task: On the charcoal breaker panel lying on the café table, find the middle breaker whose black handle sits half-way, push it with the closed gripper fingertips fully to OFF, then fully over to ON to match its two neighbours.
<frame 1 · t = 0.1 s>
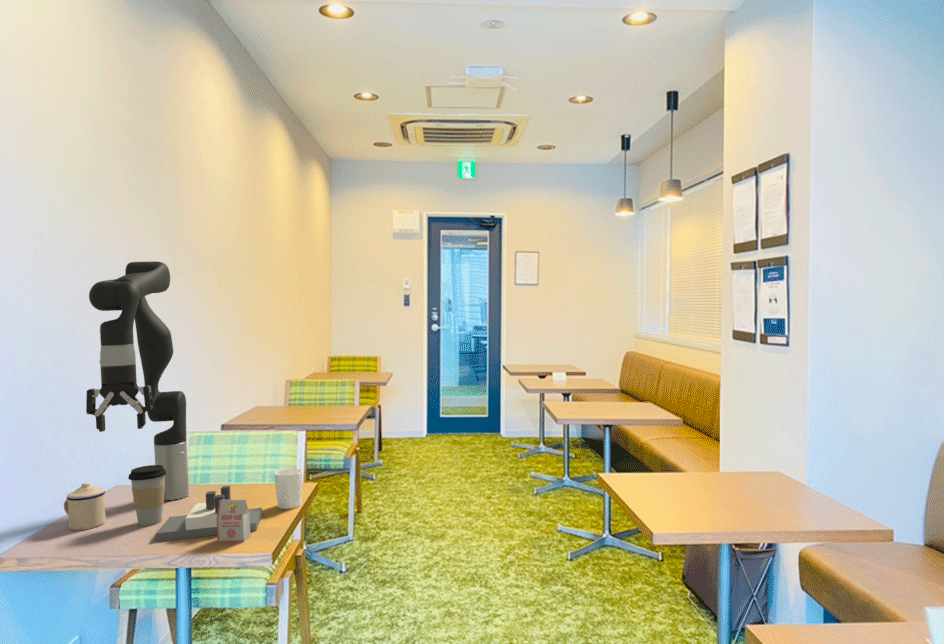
hand: (121, 429, 153), 29 cm above the table, fingers open, 8 cm apart
breaker panel: (212, 527, 167), on the table
teacup with lid: (83, 525, 173), on the table
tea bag: (234, 540, 157), on the table
tripped handle: (210, 500, 167), point 7 cm above the table, slide at 0.0 cm
white cup: (289, 506, 184), on the table
coffee cup: (149, 523, 173), on the table
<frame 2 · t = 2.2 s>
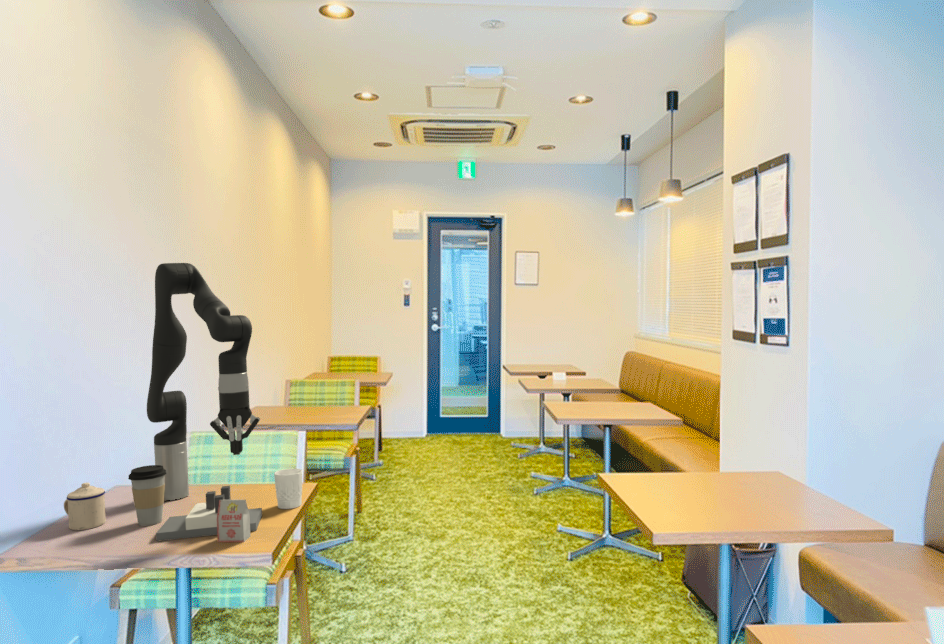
hand: (236, 454, 168), 19 cm above the table, fingers closed
nothing on the table moved.
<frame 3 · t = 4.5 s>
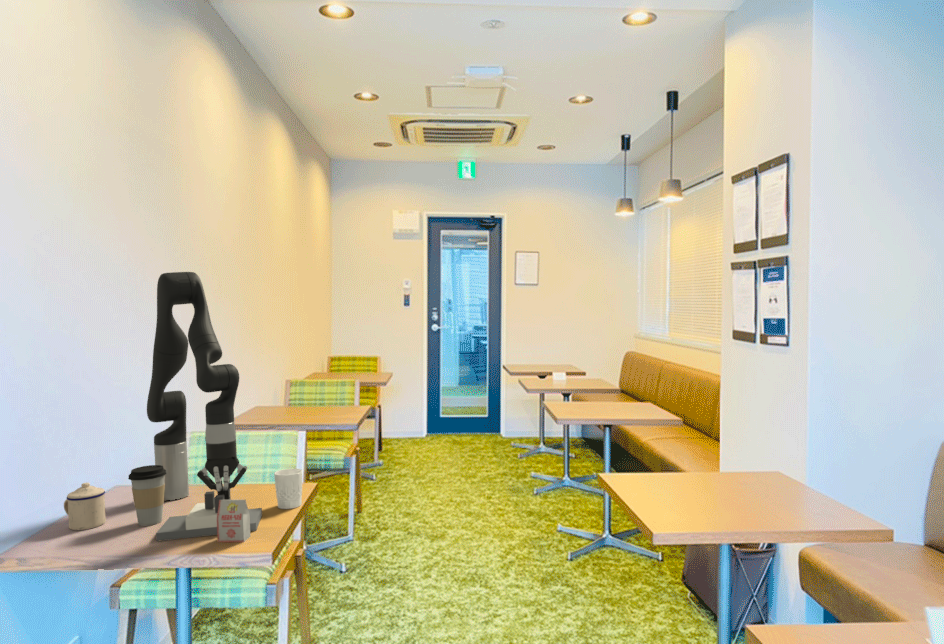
hand: (223, 503, 168), 6 cm above the table, fingers closed
tripped handle: (209, 500, 167), point 7 cm above the table, slide at -0.3 cm, touching gripper
everything else where it was.
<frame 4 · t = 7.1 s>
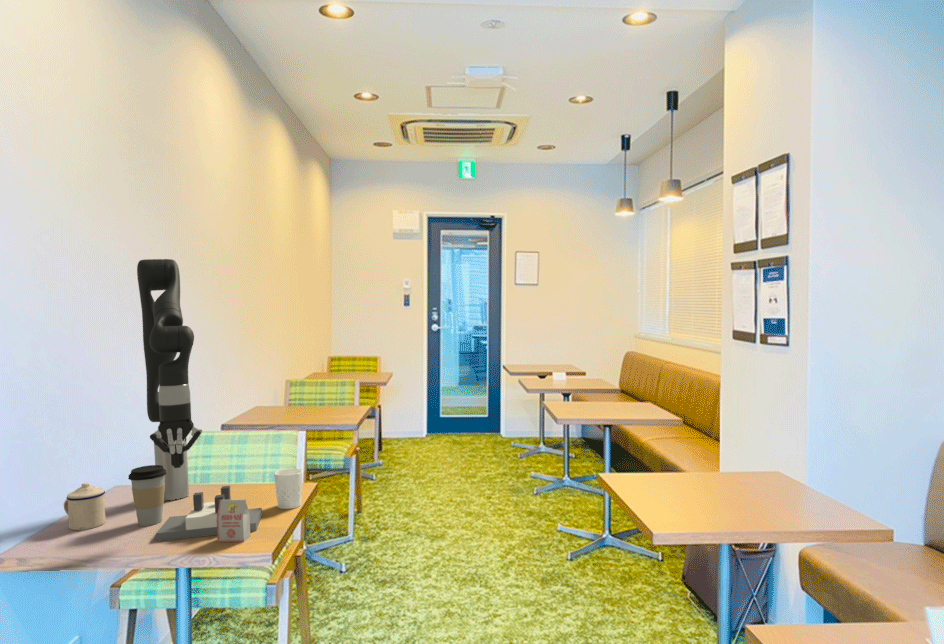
hand: (177, 467, 165), 17 cm above the table, fingers closed
tripped handle: (198, 501, 166), point 7 cm above the table, slide at -3.1 cm
everything else where it was.
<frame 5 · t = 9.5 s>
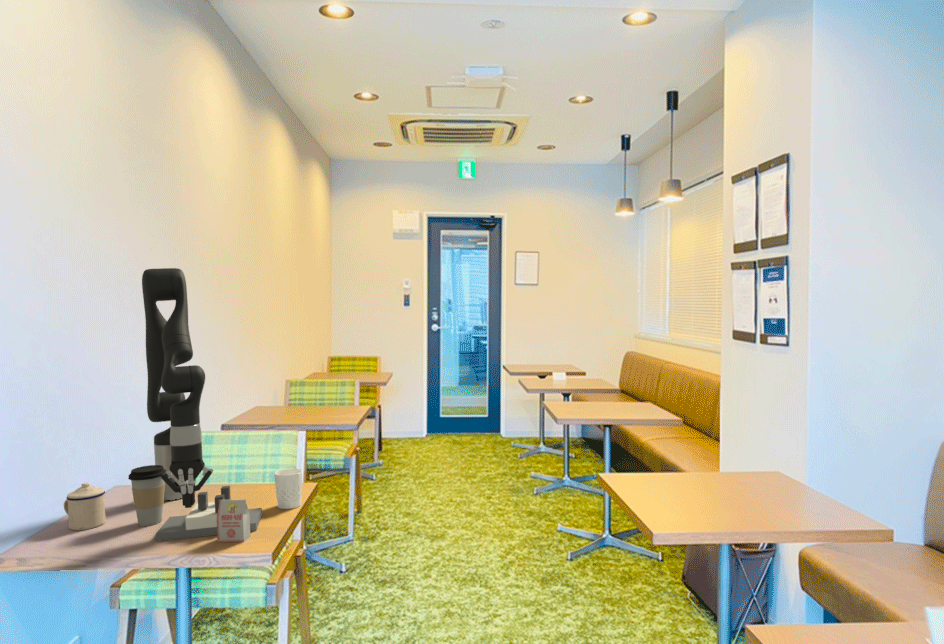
hand: (188, 506, 165), 6 cm above the table, fingers closed
tripped handle: (202, 500, 166), point 7 cm above the table, slide at -2.0 cm, touching gripper
everything else where it was.
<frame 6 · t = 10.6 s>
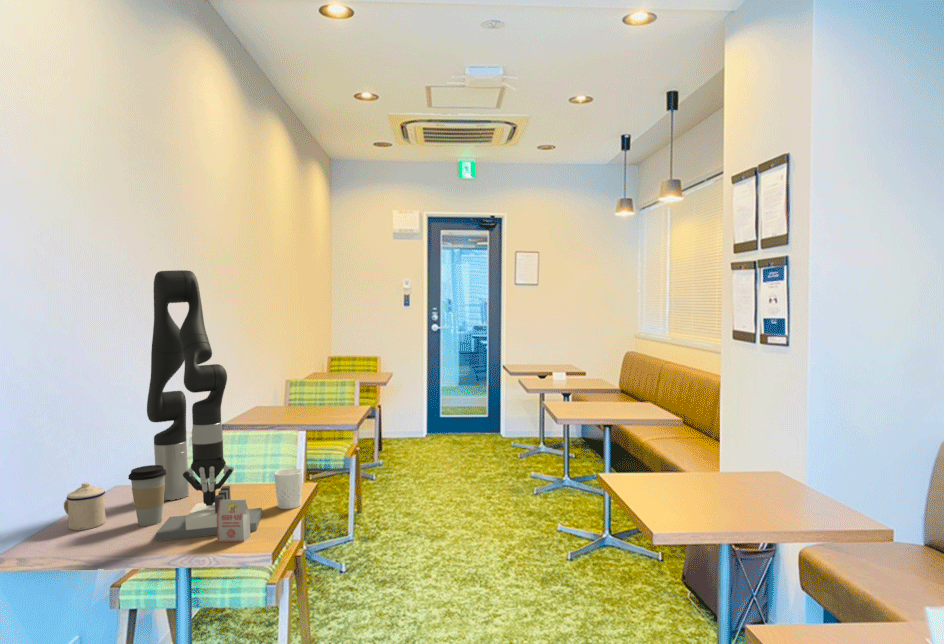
hand: (209, 504, 167), 6 cm above the table, fingers closed
tripped handle: (223, 498, 167), point 7 cm above the table, slide at 3.1 cm, touching gripper
everything else where it was.
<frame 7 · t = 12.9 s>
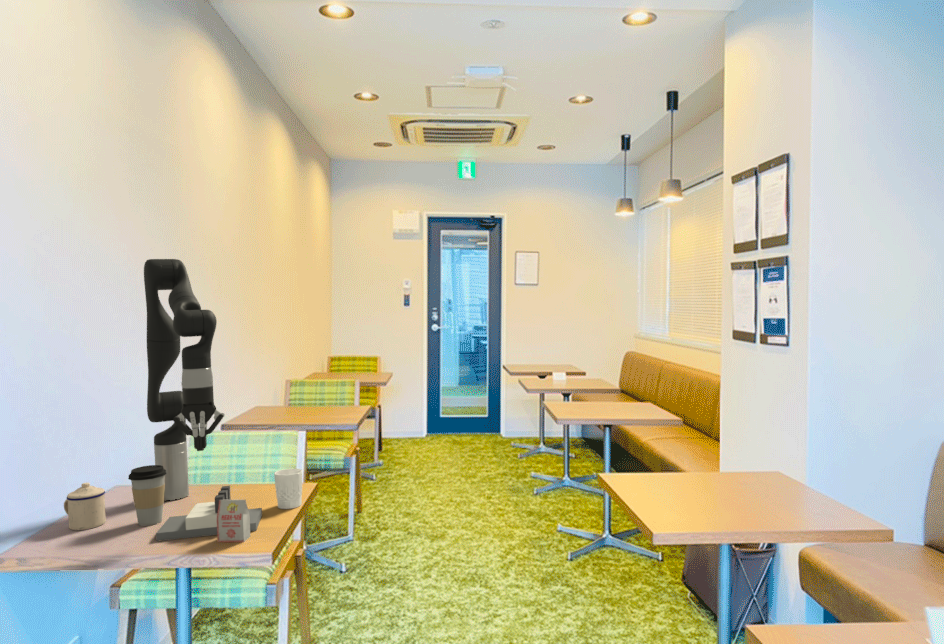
hand: (200, 450, 166), 21 cm above the table, fingers closed
tripped handle: (223, 498, 167), point 7 cm above the table, slide at 3.1 cm
everything else where it was.
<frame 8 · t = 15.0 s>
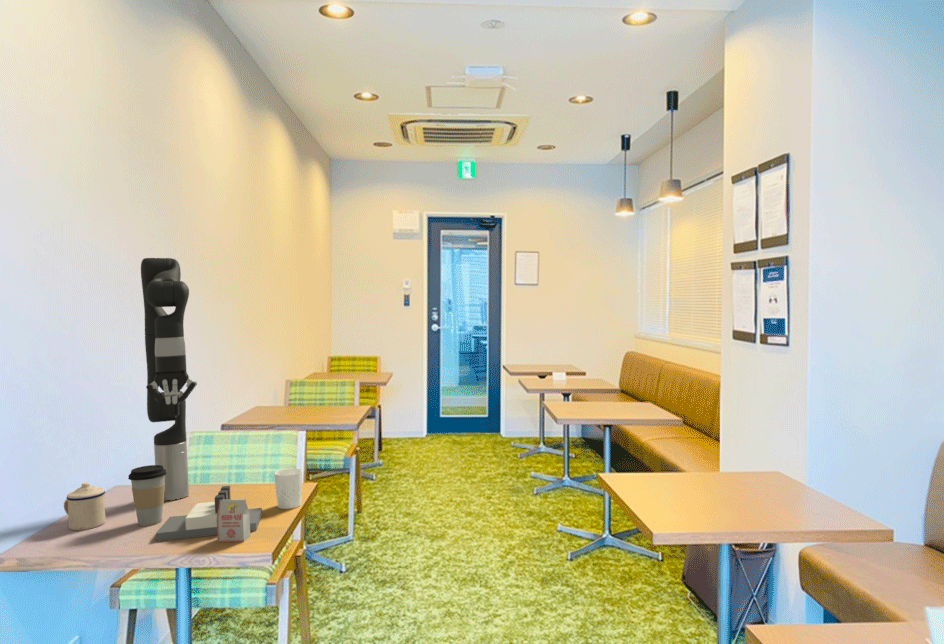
hand: (173, 417, 171), 29 cm above the table, fingers closed
nothing on the table moved.
at the end: tripped handle slide at 3.1 cm; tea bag moved 0.3 cm from its start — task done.
